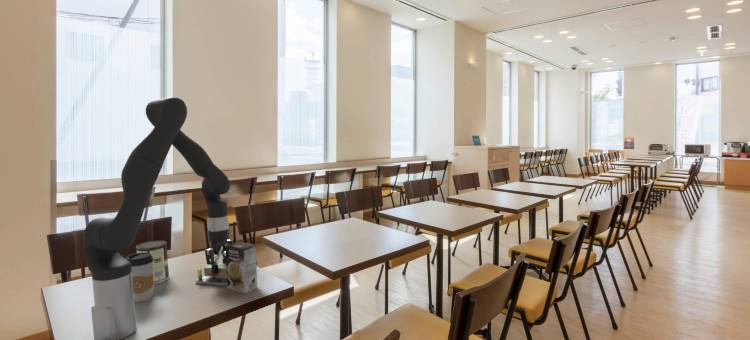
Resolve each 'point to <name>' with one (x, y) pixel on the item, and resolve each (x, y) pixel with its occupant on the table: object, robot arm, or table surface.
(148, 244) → the coffee can
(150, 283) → the coffee cup
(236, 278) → the coffee box
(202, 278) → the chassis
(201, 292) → the table surface
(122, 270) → the robot arm
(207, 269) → the mint green block
